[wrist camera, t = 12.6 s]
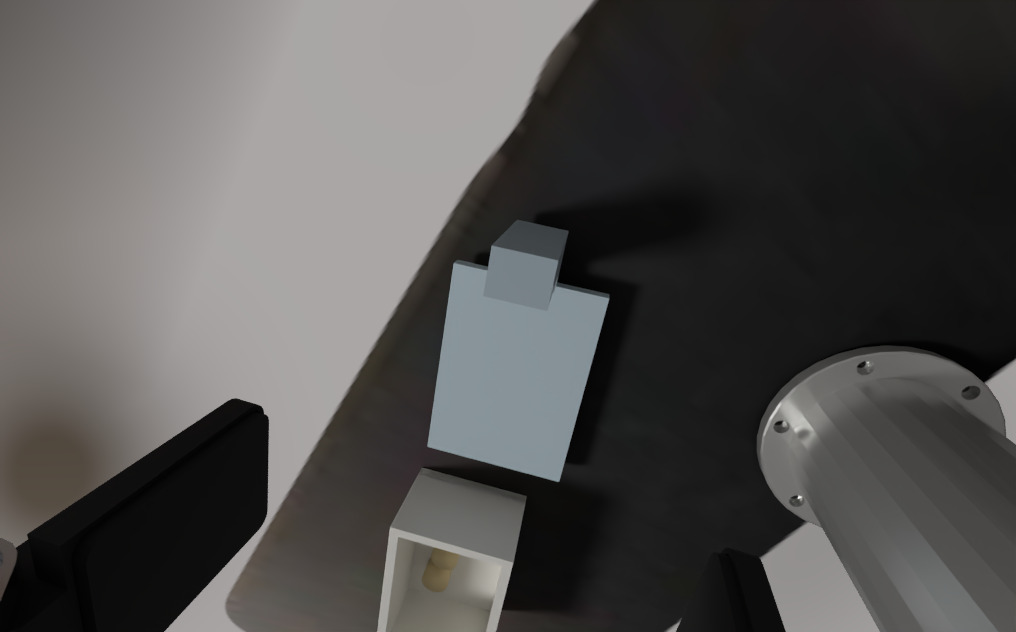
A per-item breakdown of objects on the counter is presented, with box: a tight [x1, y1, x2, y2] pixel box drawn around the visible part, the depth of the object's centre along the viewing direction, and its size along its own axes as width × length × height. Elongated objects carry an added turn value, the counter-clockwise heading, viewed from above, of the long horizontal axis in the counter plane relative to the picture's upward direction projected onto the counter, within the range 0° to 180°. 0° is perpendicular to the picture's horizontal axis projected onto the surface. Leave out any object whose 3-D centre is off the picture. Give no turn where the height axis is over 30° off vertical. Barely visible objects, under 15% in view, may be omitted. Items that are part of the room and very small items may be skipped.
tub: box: [377, 468, 527, 632], centre depth 36 cm, size 8×12×6 cm, turn 169°
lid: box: [427, 220, 609, 482], centre depth 28 cm, size 9×16×8 cm, turn 170°
